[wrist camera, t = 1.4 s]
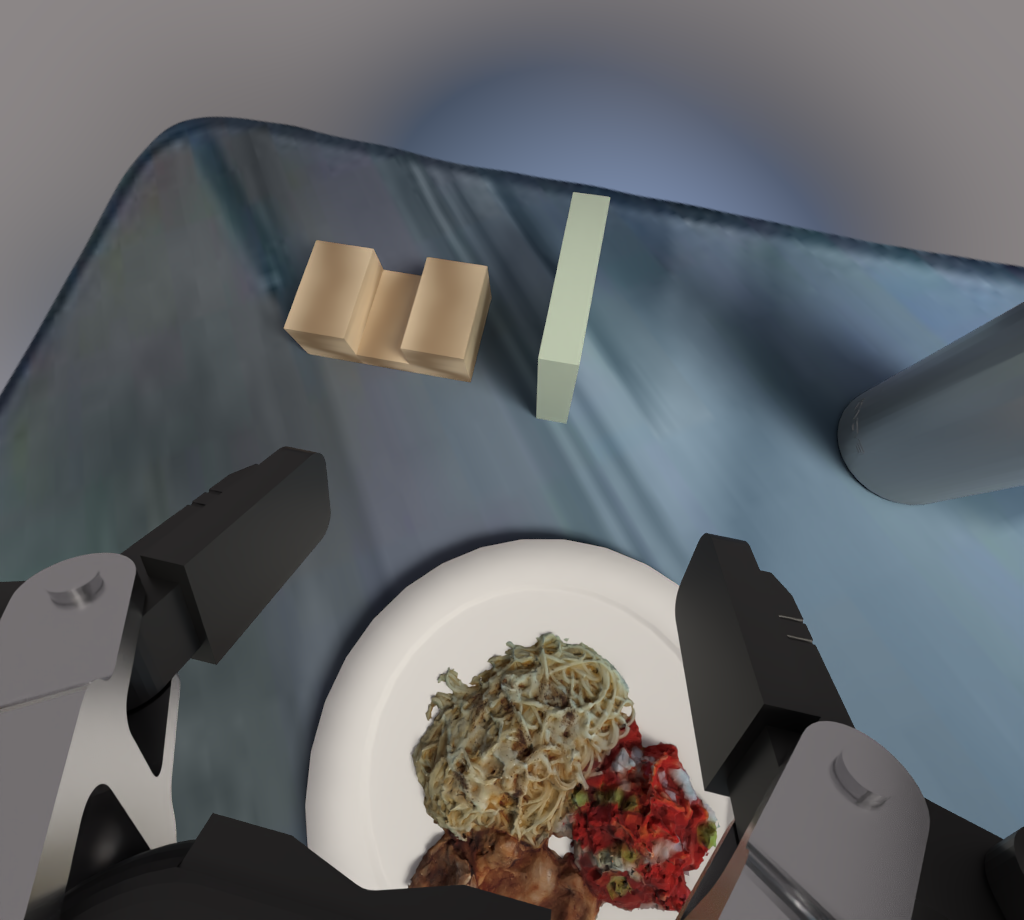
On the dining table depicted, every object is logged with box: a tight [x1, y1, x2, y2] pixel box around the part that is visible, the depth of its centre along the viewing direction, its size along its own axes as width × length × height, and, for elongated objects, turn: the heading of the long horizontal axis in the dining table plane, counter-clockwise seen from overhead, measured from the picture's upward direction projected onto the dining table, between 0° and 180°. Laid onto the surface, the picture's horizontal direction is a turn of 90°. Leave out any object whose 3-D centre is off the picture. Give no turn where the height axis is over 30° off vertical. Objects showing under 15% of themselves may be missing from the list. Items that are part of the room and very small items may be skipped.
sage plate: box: [536, 192, 610, 423], centre depth 33 cm, size 2×12×10 cm, turn 169°
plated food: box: [305, 539, 734, 920], centre depth 28 cm, size 30×30×3 cm
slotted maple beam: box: [284, 240, 492, 382], centre depth 37 cm, size 14×8×4 cm, turn 78°
